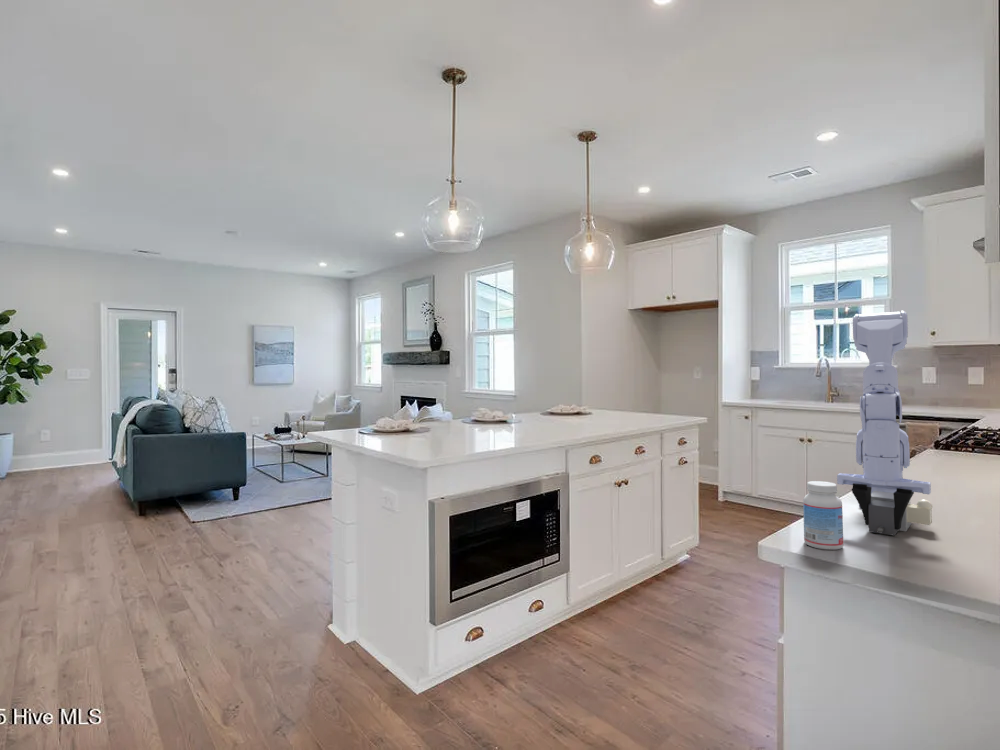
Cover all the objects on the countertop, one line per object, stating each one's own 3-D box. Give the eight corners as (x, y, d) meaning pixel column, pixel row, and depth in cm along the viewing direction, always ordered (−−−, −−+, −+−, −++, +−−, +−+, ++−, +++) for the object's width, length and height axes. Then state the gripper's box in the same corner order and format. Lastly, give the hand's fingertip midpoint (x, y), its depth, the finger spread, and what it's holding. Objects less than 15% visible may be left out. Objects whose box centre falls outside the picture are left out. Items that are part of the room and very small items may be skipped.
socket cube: (875, 519, 112) (874, 490, 112) (910, 524, 107) (910, 494, 107) (868, 525, 107) (868, 495, 107) (906, 531, 103) (905, 500, 103)
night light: (909, 518, 106) (909, 496, 106) (933, 522, 104) (933, 499, 104) (907, 522, 104) (906, 499, 104) (931, 525, 101) (931, 502, 101)
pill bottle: (849, 551, 93) (848, 487, 93) (811, 550, 94) (809, 486, 94) (834, 540, 99) (833, 480, 99) (799, 539, 100) (797, 479, 100)
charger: (876, 523, 108) (876, 497, 108) (901, 526, 105) (900, 500, 105) (867, 533, 102) (866, 506, 101) (892, 537, 99) (892, 509, 99)
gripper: (832, 454, 104) (834, 523, 105) (926, 462, 94) (928, 538, 94) (841, 450, 109) (842, 516, 110) (931, 456, 99) (933, 529, 99)
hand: (882, 526), depth 102 cm, fingers closed on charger, 4 cm apart
